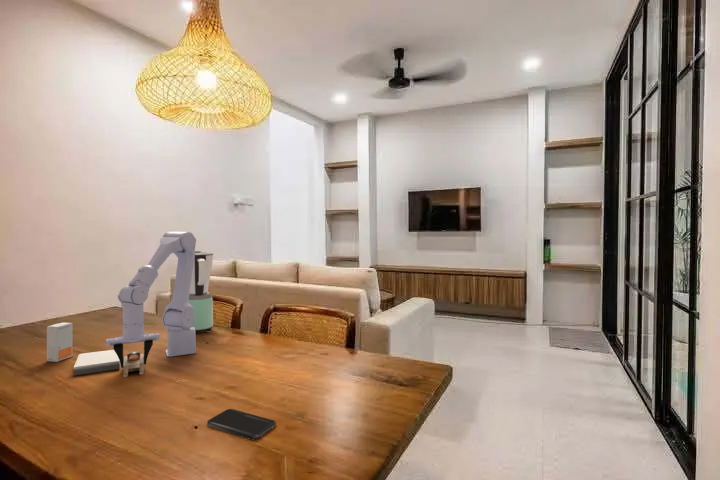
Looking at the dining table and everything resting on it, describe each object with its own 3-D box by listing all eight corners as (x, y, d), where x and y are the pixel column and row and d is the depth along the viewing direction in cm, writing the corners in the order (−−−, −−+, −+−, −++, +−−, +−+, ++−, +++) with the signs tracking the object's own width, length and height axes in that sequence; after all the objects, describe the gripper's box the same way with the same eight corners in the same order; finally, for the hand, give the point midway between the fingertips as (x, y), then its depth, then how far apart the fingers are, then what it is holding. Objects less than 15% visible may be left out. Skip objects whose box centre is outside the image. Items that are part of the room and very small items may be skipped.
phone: (255, 437, 84) (205, 421, 91) (255, 442, 84) (205, 426, 91) (278, 421, 91) (229, 407, 98) (278, 426, 91) (229, 412, 98)
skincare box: (56, 362, 130) (56, 327, 130) (46, 361, 131) (45, 326, 131) (73, 356, 136) (73, 322, 136) (63, 355, 137) (63, 321, 137)
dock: (121, 355, 138) (120, 348, 138) (119, 369, 125) (119, 361, 125) (79, 361, 132) (79, 353, 132) (73, 376, 119) (73, 368, 119)
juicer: (176, 329, 173) (175, 250, 172) (207, 324, 181) (207, 250, 180) (186, 339, 158) (186, 253, 157) (220, 334, 166) (220, 252, 165)
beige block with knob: (143, 364, 130) (143, 353, 130) (144, 373, 121) (143, 362, 121) (124, 366, 127) (124, 356, 127) (123, 377, 118) (123, 365, 118)
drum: (140, 356, 126) (140, 350, 126) (140, 360, 123) (140, 353, 123) (127, 358, 125) (127, 352, 124) (127, 362, 121) (127, 355, 121)
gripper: (105, 328, 116) (105, 373, 117) (159, 323, 124) (160, 365, 124) (106, 323, 122) (107, 366, 123) (158, 318, 130) (158, 358, 130)
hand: (133, 365), depth 124 cm, fingers closed on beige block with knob, 5 cm apart
